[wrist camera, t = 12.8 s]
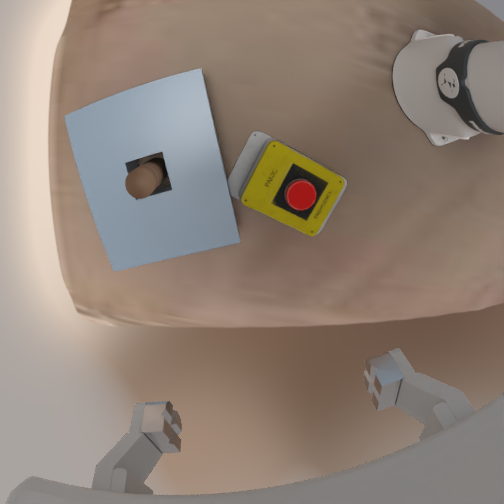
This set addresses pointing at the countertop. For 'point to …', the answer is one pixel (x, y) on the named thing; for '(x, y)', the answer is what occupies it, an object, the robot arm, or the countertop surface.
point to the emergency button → (285, 184)
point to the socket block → (177, 163)
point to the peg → (146, 178)
